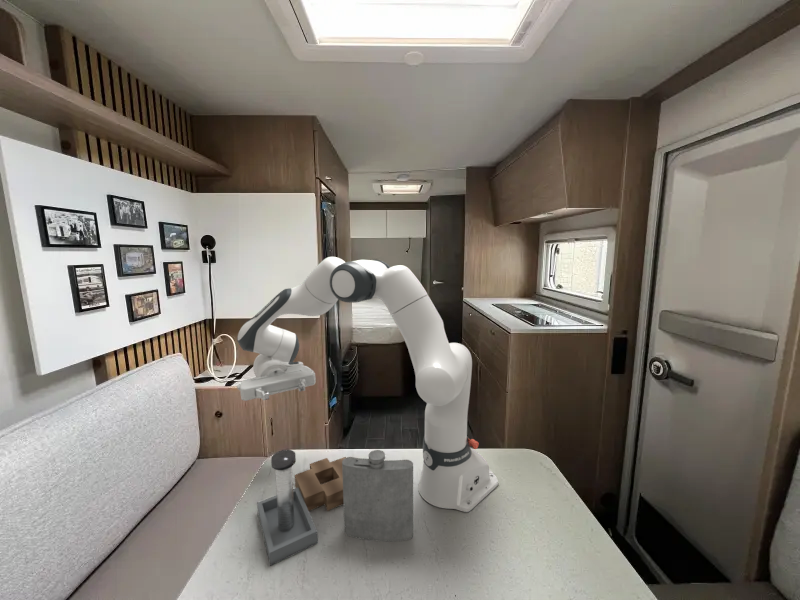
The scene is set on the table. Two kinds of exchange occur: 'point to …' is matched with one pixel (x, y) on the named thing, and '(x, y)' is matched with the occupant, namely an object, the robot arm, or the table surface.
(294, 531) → the tray
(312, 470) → the block
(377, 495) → the hip flask
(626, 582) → the table surface
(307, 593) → the table surface
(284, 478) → the steel pin
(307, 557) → the table surface
